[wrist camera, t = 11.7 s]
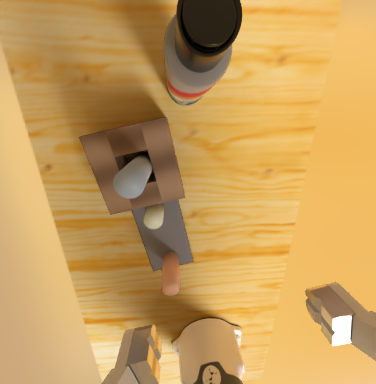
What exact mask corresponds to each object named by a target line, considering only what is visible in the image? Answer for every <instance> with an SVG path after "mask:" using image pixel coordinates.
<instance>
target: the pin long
mask: <svg viewBox="0 0 376 384" xmlns="http://www.w3.org/2000/svg"><path fill="white" fill-rule="evenodd" d="M152 170H153V167H152V164H151V160H150V157H149V153H148V152H142V153H140V154H139V155H138V156H137V157H136V158H134V159H133V160H132V161H131V162H130V163H129V164H127V165H126V166H125V167H124V168H123V169H122V170H120V171H119V172H118V173H117V174H116V175H115V177H114V179H113V186H114V189H115V191H116V192H117V193H118V194H119V195H120V196H122V197H124V198H128V199H132V198H136V197H138V196H139V195H141V193H142V192H143V190H144V188H145V186H146V183H147V181H148V179H149V177H150V174H151V172H152Z"/></svg>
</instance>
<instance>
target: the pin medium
mask: <svg viewBox="0 0 376 384" xmlns="http://www.w3.org/2000/svg"><path fill="white" fill-rule="evenodd" d="M161 290H162V292H163V293H164V294H165V295H169V296H172V295H175V294H177V293H178V292H179V290H180V281H179V261H178V255H177V253H175V252H173V251H170V252H167V253H165V254H164V256H163V271H162V286H161Z"/></svg>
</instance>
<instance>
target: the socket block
mask: <svg viewBox="0 0 376 384" xmlns="http://www.w3.org/2000/svg"><path fill="white" fill-rule="evenodd" d="M79 138H80V141H81V143H82V146H83V148H84V151H85V153H86V156H87V158H88V161H89V163H90V166H91V168H92V170H93V173H94V175H95V178H96V180H97V183H98V185H99V188H100V190H101V193H102V195H103V197H104V200H105V202H106V205H107V207H108V210H109V212H110V215H112V214H116V213H120V212H125V211H129V210H133V209H138V208H142V207H146V206H151V205H155V204H159V203H164V202H168V201H173V200H177V199H181V198H185V195H184V190H183V185H182V180H181V176H180V172H179V168H178V163H177V159H176V155H175V151H174V146H173V142H172V138H171V134H170V129H169V125H168V121H167V118H166V117H164V118H160V119H155V120H151V121H147V122H142V123H138V124H133V125H129V126H124V127H120V128H116V129H111V130H107V131H102V132H98V133H94V134H89V135H85V136H80V137H79ZM144 150H148V153H149V157H150V160H151V164H152V167H153V171H154V173H153V174H150V177H149V179H148V181H147V183H146V186H145V188H144V190H143V192H142V193H141V195H139V196H138V197H136V198H132V199H128V198H124V197H122V196H120V195H119V194H118V193H117V192H116V191H115V189H114V186H113V179H114V177H115V175H116V174H117V173H118V172H119V171H120V170H122V169H123V168H124V167H125V166H126V165H127V164H129V163H128V160H127V157H126V154H130V153H135V152H139V151H144Z"/></svg>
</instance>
